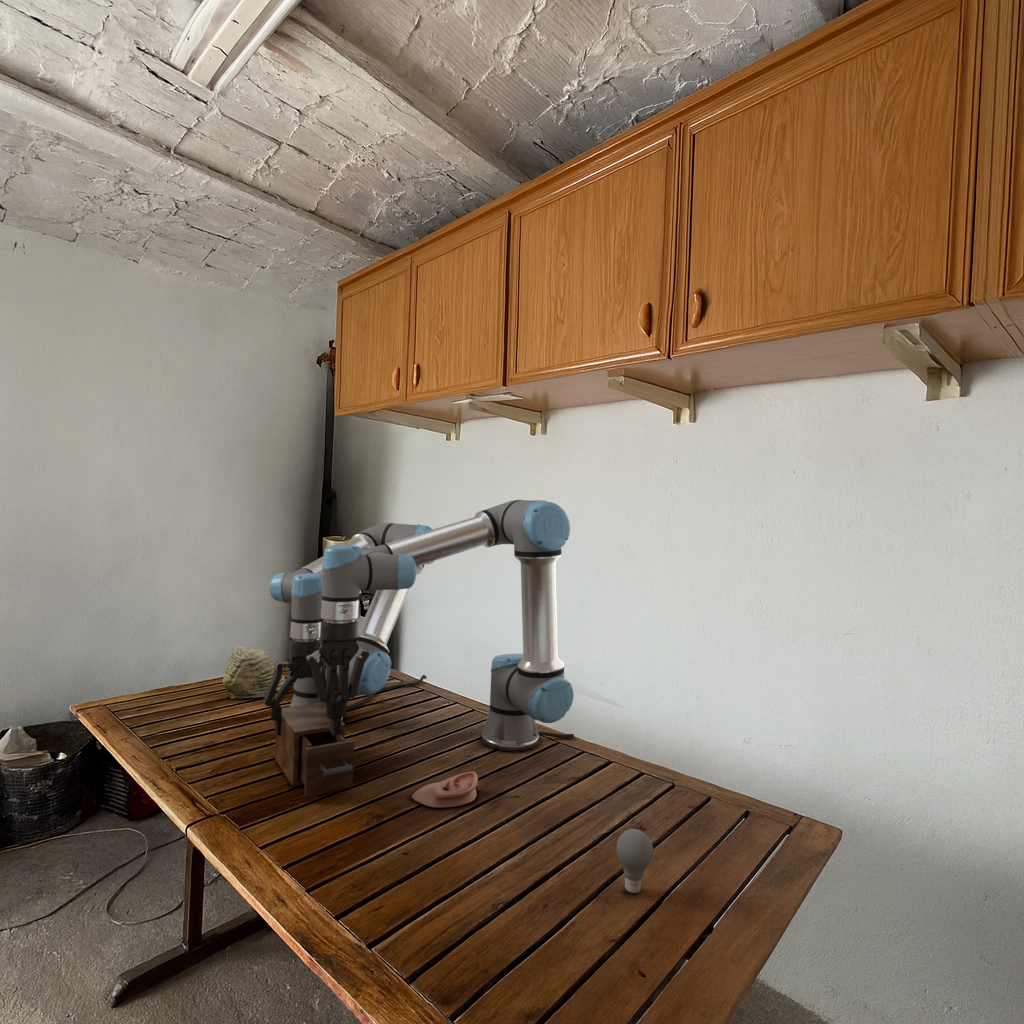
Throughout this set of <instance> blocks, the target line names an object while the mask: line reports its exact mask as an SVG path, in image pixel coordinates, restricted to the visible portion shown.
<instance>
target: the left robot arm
mask: <svg viewBox="0 0 1024 1024" xmlns="http://www.w3.org/2000/svg"><path fill="white" fill-rule="evenodd" d="M433 529H434V528H432V527H430V526H429V525H422V524H420V523H419V524H409V523H408V524H406V523H394V522H385V523H380V524H377V525H373V526H371V527H368V528H365V529H364V530H362V531H359V532H358V533H356V534H354V535H353V536H351V538H350V540H349V542H346V543H344V545H354V546H359V547H360V548H373V547H376V546H380V545H384V544H386V543H390V542H393V541H396V540H400V539H403V538H406V537H410V536H413V535H416V534H420V533H423V532H426V531H430V530H433ZM323 557H324V555H323V556H321V557H319V558H317V559H316V560H314V561H312V562H310V563H308V564H307V565H305V566H303V567H301V568H299V569H298V570H296V571H295V570H294V572H291V573H289V572H279V573H277V574H275V575H274V576H273V577H272V578H271V580H270V583H269V589H268V590H269V595H270V596H271V598H272V599H273V600H275V601H276V602H281V603H285V604H291V610H290V611H291V612H290V613H291V616H290V632H289V637H290V638H291V639H290V640H289V657H288V660H287V661H284V662H280V661H276V662H274V663H275V672H274V674H273V677H272V679H271V682H270V684H269V687H268V689H267V692H266V694H265V697H263V699H262V703H263V704H264V705H265V707H270V719H271V720H272V722H274V733H275V736H276V735H277V736H279V735H281V713H282V708H283V707H282V706H281V703H282V701H283V700H284V699H285V697H286V695H287V694H288V692H289V691H290V689H291V688H292V687H293V695H292V696H293V697H292V699H291V702H290V704H289V707H295V706H302V705H309V704H316V703H324V704H325V705H326V702H321V701H320V700H319V699H318V698H317V694H316V689H315V684H314V679H313V675H312V670H311V666H310V664H309V663H308V661H307V660H306V656H307V655H311V654H313V653H314V652H316V651H317V647H318V645H319V643H320V626H321V622H322V621H323V619H322V618H321V603H322V573H323V569H322V566H323ZM434 562H435V561H433V562H430V563H427V564H424V565H421V566H418V567H416V576H417V575H419V574H421V573H422V572H423V570H424V568H425V565H431V564H433V563H434ZM409 590H410V588H408V589H399V590H375V593H374V596H373V598H372V600H371V603H370V604H369V607H368V609H367V612H366V613H365V616H364V618H363V621H362V623H361V625H360V628H358V638H357V641H358V643H359V648H361V649H364V650H366V651H367V652H369V657H368V658H367V660H366V662H365V663H364V667H363V671H362V674H361V678H360V682H359V685H358V689H357V693H356V696H357V695H358V696H361V695H363V696H364V695H365V696H366V697H365V698H362V699H361V700H359V701H355V702H354V703H351V704H346V710H348V709H352V708H355V707H357V706H360V705H362V704H364V703H366V702H367V701H369V700H370V699H371V698H372V697H373V696H374V695H375V694H377V693H379V692H383V691H387V690H391V689H396V688H397V689H398V688H403V687H411V686H417V685H419V684H421V683H422V682H423V681H424V680H427V679H428V678H427V675H425V674H422V675H421V676H420V679H419V680H417V681H414V682H408V683H397V684H393V685H388V686H385V685H386V683H387V682H388V680H389V678H390V675H391V671H392V669H391V667H392V659H391V656H389V653H390V650H389V648H388V642H389V640H390V637H391V635H392V633H393V630H394V628H395V625H396V623H397V620H398V618H399V615H400V613H401V610H402V607H403V605H404V604H405V601H406V599H407V596H408V593H409ZM319 658H320V662H319V663H318V664H319V667H320V670H321V675H322V680H323V685H324V689H325V694H326V680H327V667H326V662H325V661H324V659H323V658H322V657H321V655H320V657H319ZM355 660H356V654H355V655H354V657H353V658H352V660H351V661H350V663H349V670H348V685H349V681H350V678H351V674H352V670H353V667H354V663H355ZM287 668H288V670H290V672H289V673H288V674H287V677H286V678H285V682H284V683H283V685H282V686H281V688H280V689H279V691H278V692H277V694H276V695H274V694H275V691H276V689H277V686H278V684H279V681H280V679H281V676H282V675H283V673H285V671H286V669H287ZM338 685H339V665H337V671H336V689H335V700H339V698H338ZM341 721H342V722H343V723H344V717H341Z"/></svg>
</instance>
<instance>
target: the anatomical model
mask: <svg viewBox="0 0 1024 1024" xmlns="http://www.w3.org/2000/svg"><path fill="white" fill-rule="evenodd" d="M478 777H479V776H478V775H477V772H475V771H466V772H463V773H462V772H461V773H459V774H456V775H454V776H451V777H448V778H445V779H444V780H441V781H438V782H433V783H429V784H426V785H424V786H421V788H419V789H417V790H416V791H414V792H413V794H412V795H411V799H412V800H414V801H415V802H417V803H419V804H421V805H423V806H427V807H428V808H429V807H430V808H435V809H439V808H452V807H459V806H464V805H466V804H469V803H471V802H473V801H474V800H475V799H476V798H477V795H478V794H477V789H476V787H477V786H478V783H479V782H478V781H479V778H478Z"/></svg>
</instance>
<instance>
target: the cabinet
mask: <svg viewBox="0 0 1024 1024" xmlns="http://www.w3.org/2000/svg"><path fill="white" fill-rule="evenodd" d="M345 728H346V724H345V723H344V721H343V722H342V721H341V735H342V736H343V737H344V738H345V735H346V734H345V732H346V729H345ZM327 731H330V719H328V718H327V717H326V705H325V704H324V703H316V704H309V705H302V706H295V707H290V706H289V707H282V713H281V735H279V736H277V735H276V734H275V748H274V749H275V750H274V760H275V762H277V764H278V766H279V768H280V769H281V771H282V772H283V774H284V775H285V777H286V778H287V780H288V782H289V783H290V785H291V786H292V788H295V787H300V786H305V785H304V783H303V782H302V780H301V779H300V777H299V776H298V761H299V736H303V735H309V734H315V733H321V732H327Z"/></svg>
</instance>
